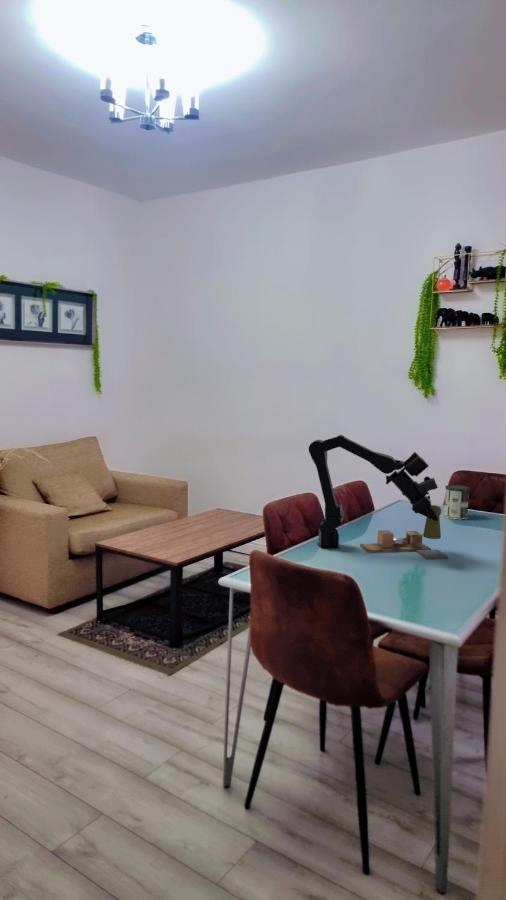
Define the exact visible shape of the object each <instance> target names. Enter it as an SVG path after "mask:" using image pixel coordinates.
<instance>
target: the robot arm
mask: <svg viewBox="0 0 506 900" xmlns="http://www.w3.org/2000/svg"><path fill="white" fill-rule="evenodd" d="M337 448H341V449H343V450H345V451H346V452H348V453H351V454H353V455H355V456H357V457H359V458H361V459H363V460H365V461H367V462H369V463H370V464H371V465H372V466H373V467H375V469H377V470H379V471H380V472H382V473H383V474H385V479H386V482H385V484H386V485H389V484H390V483H391V482H392V483H393V485H394V486H395V487H396V488H397V489H398V490H399V491H400V492H401V495H403V496H404V497H406V499H407V500H408V501H409V503H410V504H411V510H412V511H413V513H414V514H419V515H421V516H424V517H426V518H427V517H428V518H430V519H432V520H434V521H437V520H438V517H437V516H436V514H435V513H434V511H433V510H432V508H431V505H432V500H431V495H429V494H430V491H432V490H436V489H438V485H437V481H436V480H435V478H434V477H430V476H429V475H428V476H425V477H424V478H423V481H421V482H420V483H419V482H417V480H416V481H415V480H413V479H412V477H414V476H415V477H418V476H419V475H420V474H422V472H424V471H425V470H426V469H428V468H429V467H430V466H429V464H428V463H427V462H426V460H425V459H424V458H423V457H421V456H420V455H419V454H418V453H417V452H416V451H414V452H413V453H412V454H411V455H410V456H409V457H408V458H407V459H406V460H404V461H403V460H399V459H396V458H394V457H393V456H391V455H389V454H386V453H382V452H377V451H373V450H372V449H369V448H368V447H365V446H363V444H360V443H357V442H355V441H353V440H351V439H349V438H348V437H346V436H344V435H343V434H339V435H337V436H334V437H331V438H327V439H325V440H322V439H316V440H313V442H311V443H310V444H309V445H308V452H309V455H310V457H311V460H312V462H313V463H314V465H315V467H316V471H317V475H318V479H319V483H320V487H321V492H322V493H321V494H322V497H323V501H324V518H325V519H323V520H322V521H321V523H320V525H319V526H318V528H319V529H318V542H317V543H316V544H317V546H318V547H319V548H321V549H322V548H323V550H324V549H325V550H326V549H339V547H340V546H339V545H340V544H339V542H340V539H339V538H340V534H339V533H338V529H337V528H339V527H340V526H341V524H342V522H343V520H344V516H345V512H344V510H343V504H342V503H340V504H339V503H338V502H337V499H336V496H335V491H334V488H333V483H332V479H331V473H330V470H329V466H328V451H331V450H334V449H337ZM388 474H390V475H388ZM409 475H410V476H409Z"/></svg>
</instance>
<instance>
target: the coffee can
mask: <svg viewBox="0 0 506 900" xmlns="http://www.w3.org/2000/svg"><path fill="white" fill-rule="evenodd" d="M444 487H445V494H444V509H443V510H444V511H443V513H444V514H443V517H444V518H445V517H446V519H448V518H450V519H449V520H454V519H459V520H458V521H462V520H461V519H465V520H467V519H468V514H469V513H468V512H469V511H468V510H469V500H470V499H469V496H470V487H468V486H465V485H460V484H459V485H458V484H448V485H445V486H444Z"/></svg>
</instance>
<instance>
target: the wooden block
mask: <svg viewBox="0 0 506 900" xmlns="http://www.w3.org/2000/svg"><path fill="white" fill-rule="evenodd" d="M394 535H395V534H394V533H393V532H391V531H390V530H389V529H388V530H381V529H380V530H377V539H376V540H377V541H376V543H377V544H378V545H380V546H381V547H382V548H388V547H393V545H407V538H406V537H402V538H401V537H400V538H399V537H394Z"/></svg>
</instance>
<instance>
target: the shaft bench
mask: <svg viewBox="0 0 506 900" xmlns="http://www.w3.org/2000/svg"><path fill="white" fill-rule="evenodd" d="M405 538H407V545H393V547H388V548H382V547H381V546H380V545H378V544H377V542H375V543H360V544H359V547H360V548H361V547H362V548H361V549H363V550H364V551H365V552H366V553H369V554H371V553H373V554H374V553H377V554H378V553H406V552H408V553H409V552H410V553H412V552H413V553H414V552H415V553H417V550H432V548H431V547H430V546H428V545H426V544H425V543H424V542H423V533H420V532H419V531H417V530H406V531H405Z"/></svg>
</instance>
